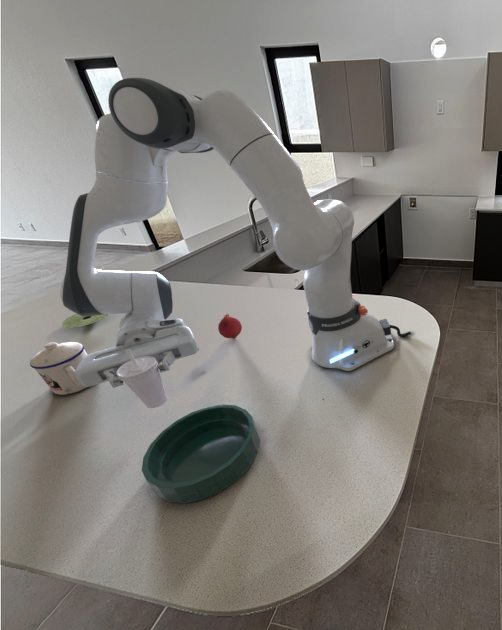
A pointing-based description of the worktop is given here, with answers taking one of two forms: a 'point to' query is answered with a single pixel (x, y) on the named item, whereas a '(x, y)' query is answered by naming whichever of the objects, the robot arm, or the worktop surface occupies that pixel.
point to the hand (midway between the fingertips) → (140, 376)
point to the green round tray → (201, 453)
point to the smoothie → (144, 380)
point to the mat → (81, 320)
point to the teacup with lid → (60, 366)
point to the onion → (229, 327)
